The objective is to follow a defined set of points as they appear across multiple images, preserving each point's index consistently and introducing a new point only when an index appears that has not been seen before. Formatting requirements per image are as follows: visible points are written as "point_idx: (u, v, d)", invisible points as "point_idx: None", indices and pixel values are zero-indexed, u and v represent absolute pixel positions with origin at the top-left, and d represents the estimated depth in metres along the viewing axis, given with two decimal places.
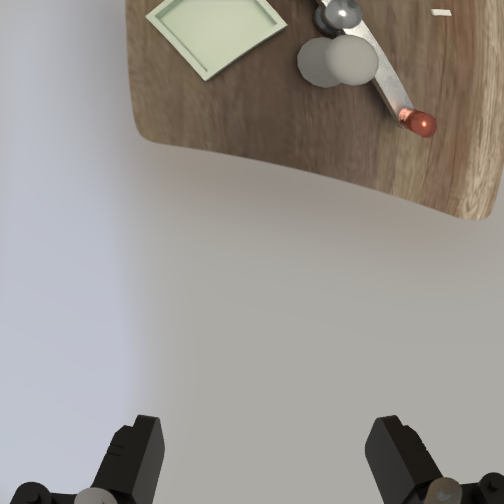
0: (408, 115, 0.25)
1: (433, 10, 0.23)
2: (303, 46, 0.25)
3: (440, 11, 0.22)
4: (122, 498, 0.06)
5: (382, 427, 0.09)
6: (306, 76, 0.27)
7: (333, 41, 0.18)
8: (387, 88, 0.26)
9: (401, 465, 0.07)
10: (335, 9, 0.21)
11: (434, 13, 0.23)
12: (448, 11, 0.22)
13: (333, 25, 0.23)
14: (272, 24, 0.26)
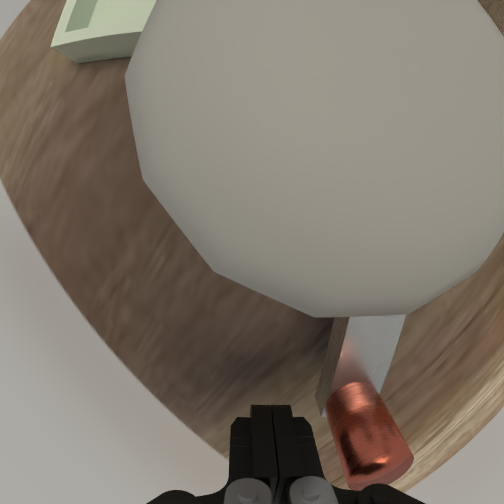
0: (359, 416, 0.09)
1: None
2: None
3: None
4: None
5: (272, 414, 0.10)
6: None
7: None
8: (363, 321, 0.11)
9: (276, 454, 0.08)
10: None
11: None
12: None
13: None
14: None
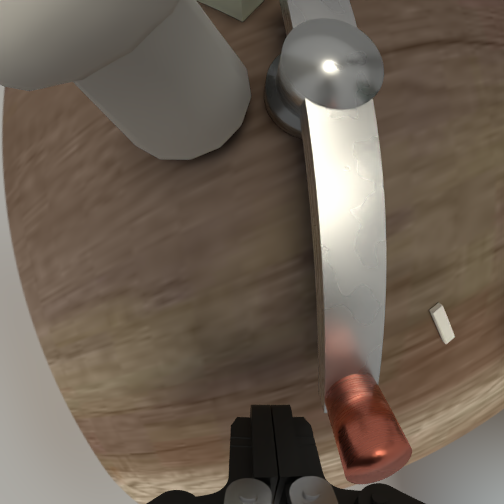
0: (351, 410, 0.09)
1: (441, 308, 0.16)
2: None
3: (445, 322, 0.16)
4: None
5: (271, 414, 0.10)
6: None
7: None
8: (340, 316, 0.11)
9: (276, 455, 0.08)
10: (313, 42, 0.08)
11: (436, 313, 0.16)
12: (451, 336, 0.16)
13: (286, 84, 0.09)
14: None
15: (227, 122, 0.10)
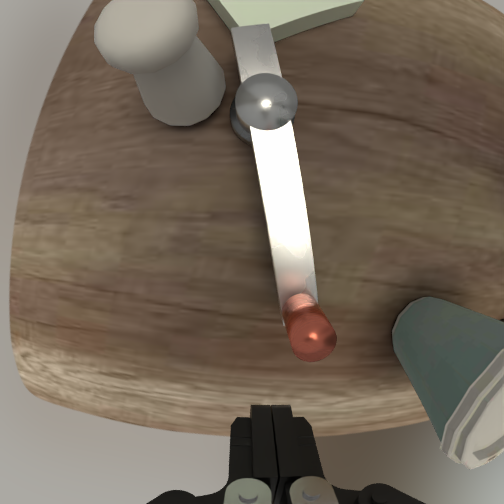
0: (294, 311, 0.17)
1: None
2: None
3: None
4: None
5: (272, 414, 0.10)
6: None
7: None
8: (282, 252, 0.18)
9: (276, 454, 0.08)
10: (253, 91, 0.16)
11: None
12: None
13: (239, 117, 0.17)
14: None
15: (196, 112, 0.17)
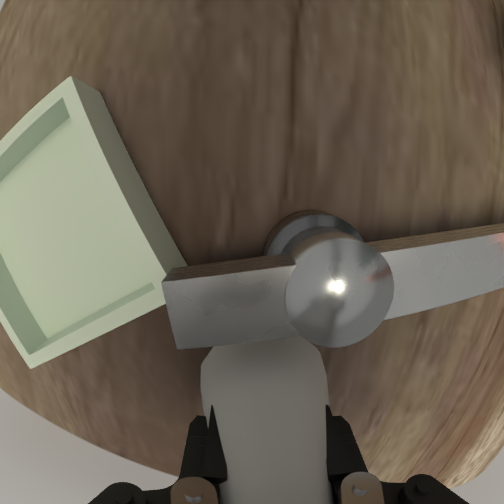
0: None
1: None
2: (215, 354, 0.12)
3: None
4: (213, 484, 0.07)
5: None
6: None
7: None
8: None
9: None
10: (321, 319, 0.09)
11: None
12: None
13: None
14: None
15: (323, 378, 0.12)
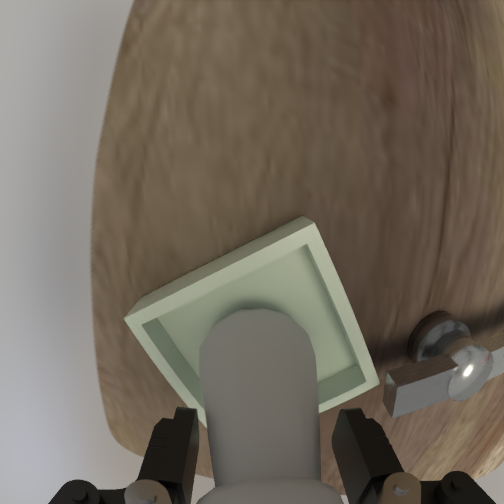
0: None
1: None
2: (211, 335, 0.13)
3: None
4: (170, 488, 0.06)
5: (345, 418, 0.09)
6: None
7: None
8: None
9: (359, 457, 0.08)
10: (462, 389, 0.13)
11: None
12: None
13: None
14: (352, 361, 0.17)
15: (311, 358, 0.13)
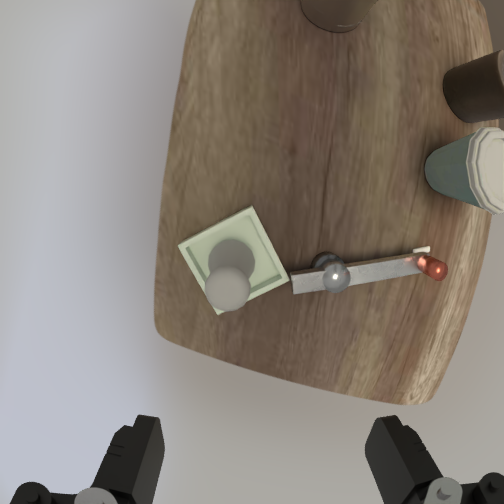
0: (425, 272, 0.35)
1: (414, 250, 0.41)
2: (213, 248, 0.37)
3: (420, 250, 0.41)
4: (122, 498, 0.06)
5: (382, 427, 0.09)
6: None
7: (211, 274, 0.28)
8: (400, 272, 0.37)
9: (401, 465, 0.07)
10: (331, 284, 0.37)
11: None
12: (428, 246, 0.41)
13: None
14: (278, 271, 0.41)
15: (251, 256, 0.36)
